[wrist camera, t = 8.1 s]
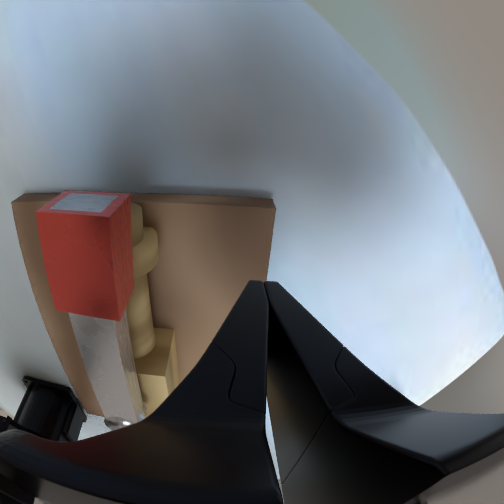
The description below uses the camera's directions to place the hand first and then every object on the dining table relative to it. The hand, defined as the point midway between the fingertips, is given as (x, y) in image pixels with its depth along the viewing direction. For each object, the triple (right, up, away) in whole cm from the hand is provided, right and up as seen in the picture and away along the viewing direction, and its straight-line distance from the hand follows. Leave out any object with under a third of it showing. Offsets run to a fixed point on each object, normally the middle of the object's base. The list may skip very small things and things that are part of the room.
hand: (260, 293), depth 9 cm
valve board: (-8, -5, +12) cm, 16 cm away
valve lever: (-7, -3, +4) cm, 9 cm away
